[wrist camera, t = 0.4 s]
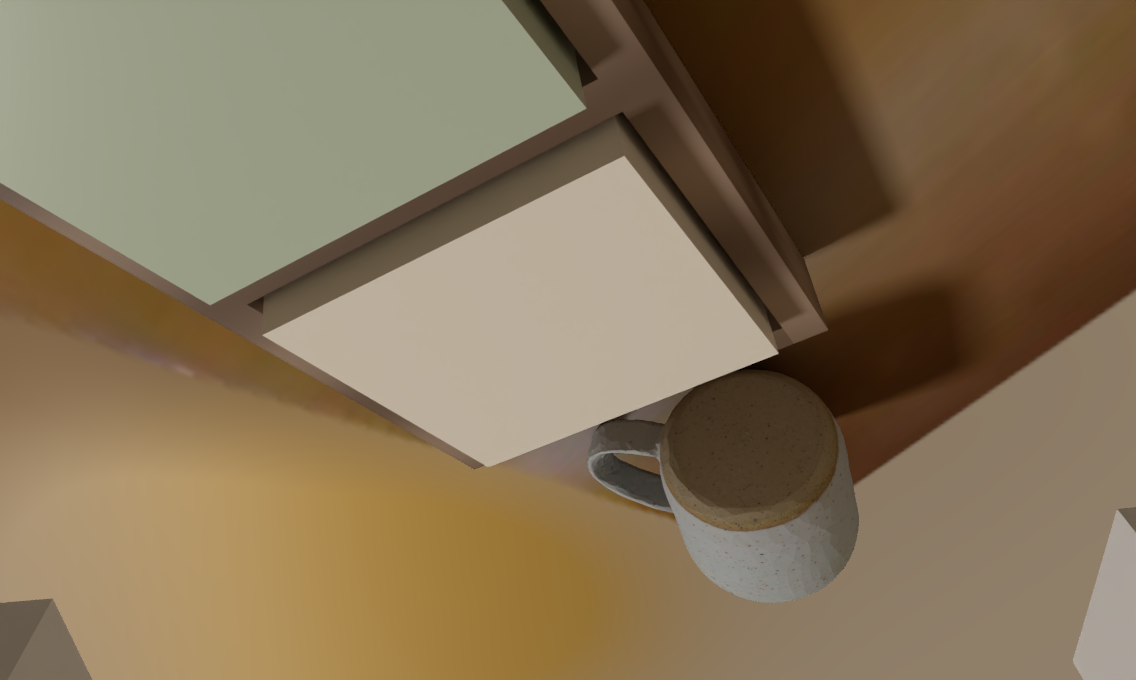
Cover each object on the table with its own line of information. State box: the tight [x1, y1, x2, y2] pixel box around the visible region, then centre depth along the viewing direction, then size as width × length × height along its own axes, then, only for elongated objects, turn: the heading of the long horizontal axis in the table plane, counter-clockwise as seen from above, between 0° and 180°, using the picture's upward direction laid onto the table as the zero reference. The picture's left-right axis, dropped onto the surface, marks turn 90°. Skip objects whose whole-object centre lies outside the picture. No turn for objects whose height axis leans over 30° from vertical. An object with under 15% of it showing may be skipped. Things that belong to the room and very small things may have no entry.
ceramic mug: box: [587, 369, 859, 603], centre depth 40 cm, size 11×8×8 cm
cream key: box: [262, 112, 779, 467], centre depth 29 cm, size 11×11×3 cm
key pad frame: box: [0, 0, 828, 469], centre depth 25 cm, size 27×14×3 cm, turn 29°
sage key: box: [0, 0, 587, 305], centre depth 19 cm, size 11×11×3 cm
